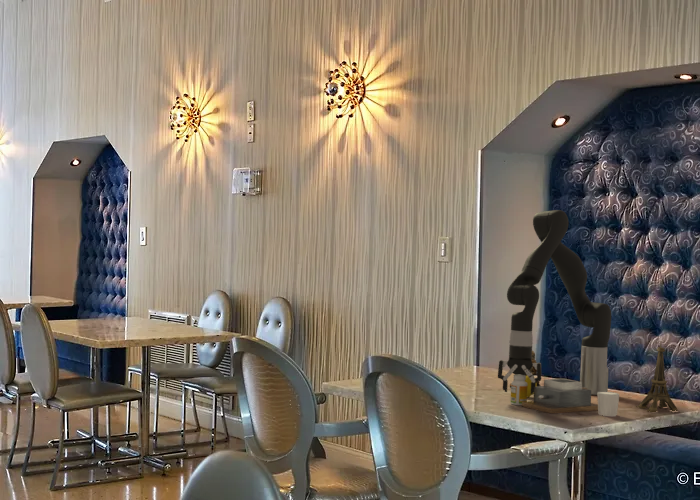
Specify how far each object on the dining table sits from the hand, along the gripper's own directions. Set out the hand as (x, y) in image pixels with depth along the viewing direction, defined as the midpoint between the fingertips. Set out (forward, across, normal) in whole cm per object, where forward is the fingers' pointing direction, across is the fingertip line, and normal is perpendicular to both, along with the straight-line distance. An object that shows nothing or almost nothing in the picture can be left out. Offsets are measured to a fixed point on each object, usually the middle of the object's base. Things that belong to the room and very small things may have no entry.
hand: (518, 392), depth 329 cm
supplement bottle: (+4, 0, 0) cm, 4 cm away
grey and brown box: (+4, -14, +1) cm, 15 cm away
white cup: (+4, -29, +8) cm, 30 cm away
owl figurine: (+4, 0, -40) cm, 40 cm away
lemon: (+4, -2, -18) cm, 18 cm away
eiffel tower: (+4, -45, -11) cm, 47 cm away
